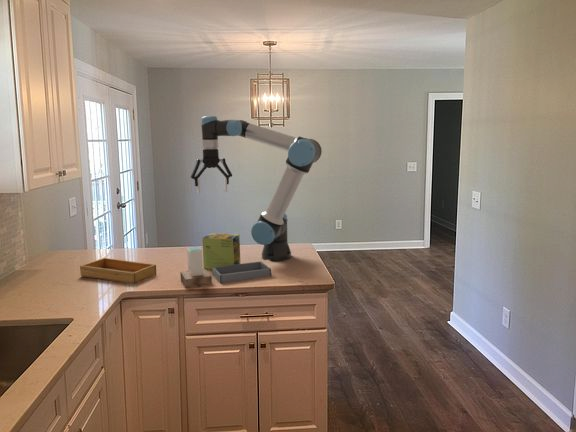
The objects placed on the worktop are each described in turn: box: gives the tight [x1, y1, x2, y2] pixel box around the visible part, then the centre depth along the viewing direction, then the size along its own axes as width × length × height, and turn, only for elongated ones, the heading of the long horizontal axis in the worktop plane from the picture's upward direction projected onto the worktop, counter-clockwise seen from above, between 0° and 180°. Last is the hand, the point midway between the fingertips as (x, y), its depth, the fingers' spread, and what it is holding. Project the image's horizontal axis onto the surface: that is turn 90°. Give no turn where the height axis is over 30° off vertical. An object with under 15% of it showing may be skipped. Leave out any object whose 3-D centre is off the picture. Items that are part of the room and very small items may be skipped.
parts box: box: [186, 246, 204, 276], centre depth 208 cm, size 5×6×11 cm
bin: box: [211, 261, 272, 284], centre depth 216 cm, size 23×14×4 cm, turn 112°
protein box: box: [201, 233, 242, 270], centre depth 231 cm, size 10×15×16 cm
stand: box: [180, 268, 213, 289], centre depth 209 cm, size 11×12×4 cm
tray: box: [79, 257, 157, 285], centre depth 221 cm, size 31×15×6 cm, turn 67°
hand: (212, 192), depth 239 cm, fingers open, 13 cm apart
